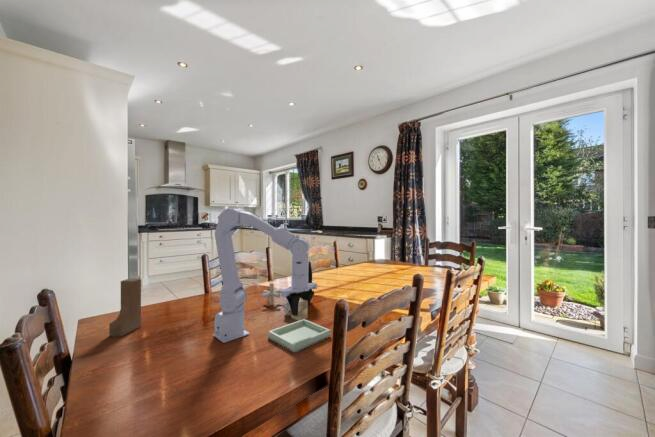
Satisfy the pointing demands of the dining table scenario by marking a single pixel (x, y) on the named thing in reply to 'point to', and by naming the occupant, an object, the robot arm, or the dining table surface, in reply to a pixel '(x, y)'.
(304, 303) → the maple block
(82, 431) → the dining table surface
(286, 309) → the game die
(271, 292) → the pipe connector
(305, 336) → the sorting tray
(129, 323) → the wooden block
